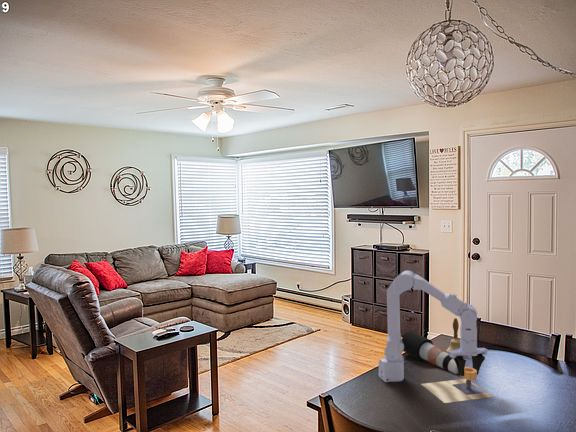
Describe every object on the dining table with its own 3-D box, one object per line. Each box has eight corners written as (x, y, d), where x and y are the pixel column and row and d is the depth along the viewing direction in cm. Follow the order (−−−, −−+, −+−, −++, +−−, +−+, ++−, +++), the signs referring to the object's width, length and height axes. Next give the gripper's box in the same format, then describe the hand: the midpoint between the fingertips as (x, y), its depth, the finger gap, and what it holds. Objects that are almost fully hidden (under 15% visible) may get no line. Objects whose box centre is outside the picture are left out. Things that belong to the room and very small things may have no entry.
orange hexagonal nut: (466, 380, 158) (466, 373, 158) (457, 374, 164) (457, 367, 164) (479, 378, 160) (479, 372, 159) (470, 373, 165) (470, 366, 165)
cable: (466, 392, 172) (460, 373, 168) (404, 356, 201) (398, 339, 197) (482, 376, 175) (476, 357, 172) (419, 343, 205) (413, 326, 201)
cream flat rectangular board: (444, 406, 151) (444, 393, 151) (420, 387, 166) (420, 375, 166) (494, 399, 155) (494, 387, 155) (466, 381, 171) (466, 370, 171)
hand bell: (468, 355, 199) (468, 320, 199) (450, 355, 199) (450, 321, 198) (460, 348, 208) (460, 315, 207) (443, 349, 207) (443, 316, 207)
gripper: (457, 343, 156) (457, 381, 156) (492, 340, 159) (492, 376, 159) (446, 337, 162) (446, 373, 163) (480, 334, 166) (480, 369, 166)
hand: (468, 374), depth 162 cm, fingers closed on orange hexagonal nut, 5 cm apart
